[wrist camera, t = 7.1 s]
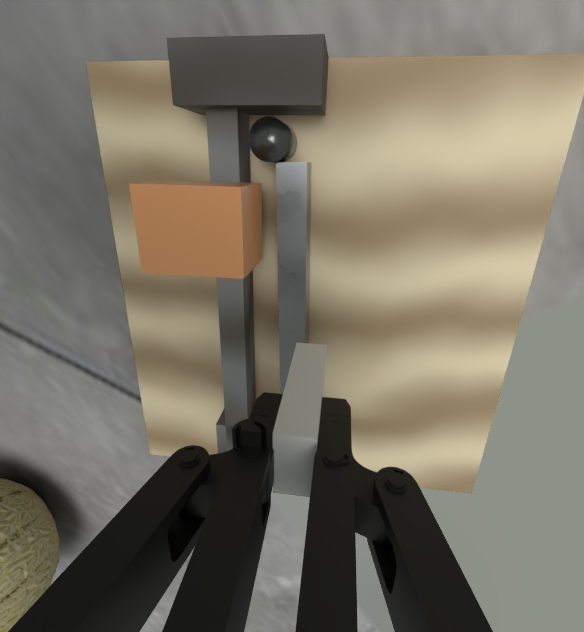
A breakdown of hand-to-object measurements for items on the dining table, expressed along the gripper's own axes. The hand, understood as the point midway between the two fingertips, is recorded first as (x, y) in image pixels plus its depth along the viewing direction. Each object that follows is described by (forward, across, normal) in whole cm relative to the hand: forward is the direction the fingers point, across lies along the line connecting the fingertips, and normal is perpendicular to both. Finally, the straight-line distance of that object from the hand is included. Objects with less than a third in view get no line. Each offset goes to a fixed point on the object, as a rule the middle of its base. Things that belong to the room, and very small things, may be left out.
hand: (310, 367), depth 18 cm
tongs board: (+8, -1, 0) cm, 8 cm away
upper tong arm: (+6, -1, 0) cm, 6 cm away
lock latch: (+4, -6, +6) cm, 9 cm away
